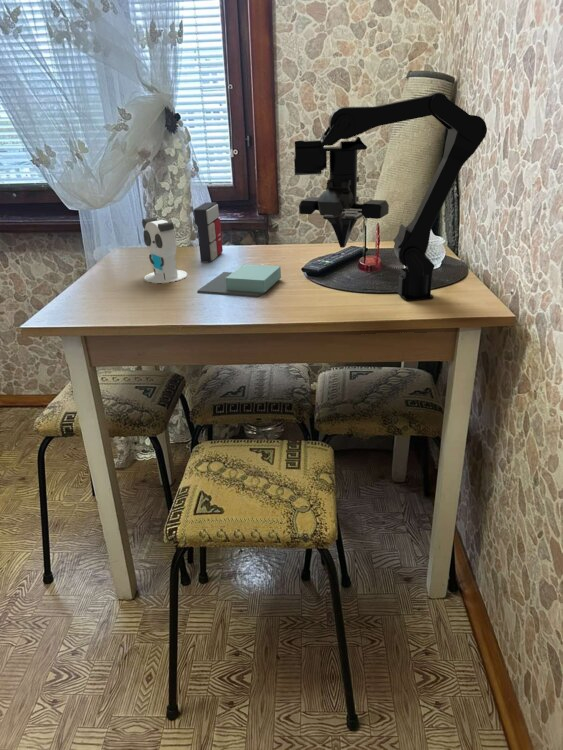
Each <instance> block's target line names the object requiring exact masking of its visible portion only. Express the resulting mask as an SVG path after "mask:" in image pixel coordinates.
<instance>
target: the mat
mask: <svg viewBox="0 0 563 750" xmlns="http://www.w3.org/2000/svg"><path fill="white" fill-rule="evenodd" d="M233 272H234V271H233ZM233 272H231V271H230V272H228V271H223V272H222V273H220V274H218V275H217V276H216V277H214V278H213V279H211V280H210V281H209V282H207V283H206V284H205V285H203V286H201V287H200V288H199V289H198V290H197V294H198V293H199V294H213V295H226V296H227V295H228V296H239V297H256V298H259V297H260V296H261V295H262V294H264V292H250V291H236V290H227V289H226V277H227V276H229V275H230V274H232V273H233Z"/></svg>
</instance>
